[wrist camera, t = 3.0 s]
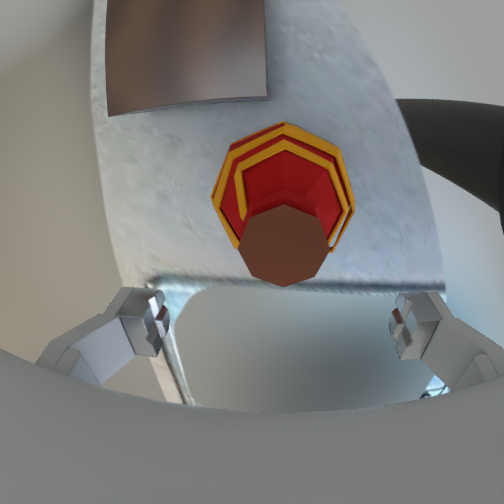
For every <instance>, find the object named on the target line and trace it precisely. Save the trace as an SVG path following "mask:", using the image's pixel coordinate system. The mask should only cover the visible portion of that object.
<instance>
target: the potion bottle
mask: <svg viewBox="0 0 504 504" xmlns="http://www.w3.org/2000/svg"><path fill="white" fill-rule="evenodd" d="M210 198H211V200H212V202H213V203H212V204H213V206H214V208H215V210H216V212H217V214H218V216H219V218H220V220H221V222H222V224H223V227H224V229H225V231H226V233H227V235H228V237H229V239H230V241H231V243H232V245H233V247H234V248H235V249H238V251H239V252H240V254H241V256H242V258H243V260H244V262H245V264H246V265H247V267H248V269H249V271H250V273H251V275H252V276H253V277H256V278H259V279H262V280H264V281H267V282H270V283H273V284H276V285H279V286H282V287H285V286H288V285H291V284H294V283H297V282H301V281H304V280H307V279H310V278H312V277H315V275H316V274H317V272H318V270H319V268H320V267H321V265H322V263H323V261H324V260H325V258H326V256H327V254H328V253H331V252H333V251H334V249H335V247H336V245H337V244H338V242H339V240H340V238H341V236H342V234H343V233H344V231H345V229H346V227H347V225H348V223H349V221H350V219H351V217H352V216H353V214H354V212H355V199H354V195H353V192H352V188H351V184H350V181H349V177H348V174H347V171H346V167H345V164H344V161H343V158H342V154H341V151H340V148H338V147H336V146H334V145H333V144H331V143H329V142H327V141H325V140H323V139H321V138H319V137H317V136H315V135H313V134H311V133H309V132H307V131H305V130H303V129H302V128H300V127H298V126H295V125H291V124H289V123H287V122H284V121H282V122H280V123H277V124H275V125H272V126H270V127H268V128H265V129H263V130H261V131H258V132H256V133H254V134H251V135H249V136H247V137H245V138H243V139H240V140H238V141H236V142H234V143H232V144H231V145H230V148H229V150H228V153H227V155H226V158H225V160H224V163H223V165H222V168H221V170H220V173H219V175H218V178H217V181H216V183H215V186H214V188H213V191H212V194H211V196H210ZM350 204H351V206H350ZM349 206H350V209H349ZM348 210H349V211H348ZM347 212H348V214H347ZM346 214H347V216H346ZM345 216H346V219H345V221H344V223H343V226H342V228H341V230H340V233H339V235H338V237H337V240H336V242H335V244H334V246H333V247H329V245H330V243H331V241H332V239H333V237H334V236H335V234H336V232H337V230H338V228H339V227H340V225H341V223H342V221H343V219H344V217H345Z"/></svg>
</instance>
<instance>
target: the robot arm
mask: <svg viewBox="0 0 504 504" xmlns="http://www.w3.org/2000/svg"><path fill="white" fill-rule="evenodd" d="M164 301H165V297H164V294H163V292H162V291H161V290H157V289H146V288H134V287H123V288H121V289H120V291H119V292H118V294H117V295H116V296H115V298H114V299H113V300H112V302H111V303H110V305H109V306H108V307H107V309H106V310H105V312H104V313H103V314H98V315H96V316H94V317H93V318H91V319H89V320H87V321H85V322H84V323H82V324H80V325H78V326H76V327H75V328H73V329H71V330H69V331H68V332H66V333H64V334H62V335H61V336H59V337H57V338H55V339H53V340H52V341H50V343H49V344H48V345H47V347H46V348H45V350H44V351H43V353H42V354H41V356H40V357H39V358H38V360H37V361H36V363H35V364H33V363H31V362H29V361H27V360H24V359H22V358H20V357H18V356H15V355H13V354H11V353H9V352H7V351H5V350H2V349H1V348H0V504H504V349H503V348H502V347H501V346H499V345H498V344H496V343H495V342H493V341H492V340H490V339H489V338H487V337H486V336H484V335H483V334H481V333H480V332H478V331H477V330H475V329H474V328H472V327H471V326H469V325H467V324H466V323H465V322H463V321H461V320H460V319H458V318H456V319H455V318H454V317H453V315H452V314H451V312H450V310H449V309H448V307H447V306H446V304H445V302H444V301H443V299H442V298H441V296H440V295H439V293H438V292H437V291H435V290H433V291H423V292H408V293H399V294H398V296H397V298H396V301H395V303H396V305H397V308H396V309H395V310H394V311H393V312H392V314H391V317H390V323H389V329H390V334H391V336H392V338H393V339H394V340H396V341H397V344H396V350H397V353H398V355H399V358H400V361H403V360H413V359H421V361H422V362H423V363H424V364H425V365H426V366H428V368H430V369H431V371H432V372H433V373H434V374H435V375H436V376H437V377H438V378H439V379H440V380H441V381H442V382H443V383H444V384H445V385H446V386H447V387H448V388H449V389H450V390H451V391H450V392H449V393H445V394H441V395H437V396H433V397H428V398H424V399H419V400H414V401H409V402H403V403H397V404H391V405H384V406H378V407H369V408H361V409H351V410H339V411H323V412H254V411H238V410H226V409H215V408H206V407H198V406H191V405H184V404H177V403H171V402H166V401H160V400H154V399H149V398H145V397H140V396H136V395H131V394H127V393H123V392H119V391H115V390H111V389H107V388H103V386H102V384H103V383H104V382H105V381H106V380H108V379H109V378H110V377H111V376H112V375H113V374H115V373H116V372H117V371H118V370H119V369H121V368H122V367H123V366H124V365H125V364H126V363H127V362H129V361H130V360H131V359H132V358H134V357H135V355H142V356H149V357H157V356H158V353H159V351H160V349H161V346H162V344H163V343H162V340H161V338H162V337H164V336H165V335H166V334H167V332H168V329H169V323H170V317H169V312H168V309H167V308H166V307H165V306H164V305H163V303H164Z"/></svg>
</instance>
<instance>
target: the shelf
mask: <svg viewBox="0 0 504 504" xmlns="http://www.w3.org/2000/svg"><path fill="white" fill-rule="evenodd" d="M105 68H106V93H107V108H108V117H111V116H118V115H125V114H133V113H142V112H149V111H155V110H161V109H168V108H175V107H182V106H191V105H200V104H210V103H222V102H238V101H270V100H271V97H270V87H269V84H268V75H267V48H266V25H265V4H264V0H108V1H107V14H106V37H105Z"/></svg>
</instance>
